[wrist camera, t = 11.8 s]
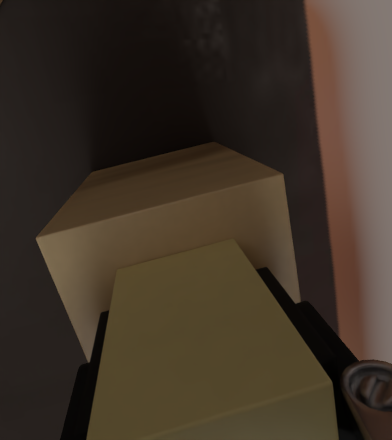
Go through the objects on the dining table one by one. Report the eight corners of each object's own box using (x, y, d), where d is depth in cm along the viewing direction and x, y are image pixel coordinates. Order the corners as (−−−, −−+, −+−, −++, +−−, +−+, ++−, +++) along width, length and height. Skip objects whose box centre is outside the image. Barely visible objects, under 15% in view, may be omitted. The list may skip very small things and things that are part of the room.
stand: (91, 171, 18) (34, 237, 9) (214, 141, 19) (283, 173, 9) (132, 294, 21) (122, 445, 12) (239, 265, 21) (313, 387, 12)
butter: (115, 269, 10) (80, 458, 4) (233, 237, 10) (334, 382, 5) (161, 398, 11) (174, 646, 6) (260, 368, 11) (355, 584, 6)
